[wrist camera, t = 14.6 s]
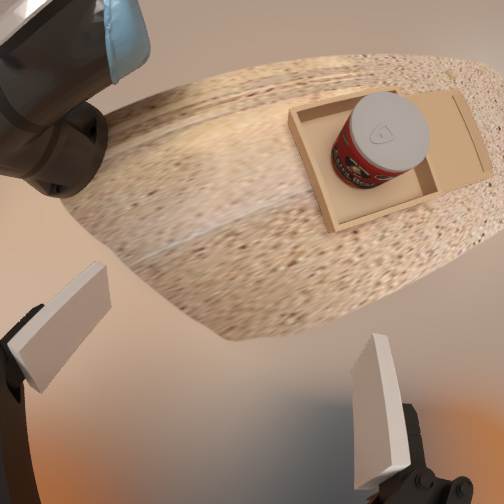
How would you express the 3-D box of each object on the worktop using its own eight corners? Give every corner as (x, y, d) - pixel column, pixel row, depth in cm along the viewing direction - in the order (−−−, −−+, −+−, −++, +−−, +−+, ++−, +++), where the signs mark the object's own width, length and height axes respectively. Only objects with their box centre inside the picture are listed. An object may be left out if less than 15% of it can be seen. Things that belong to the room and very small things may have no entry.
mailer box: (328, 232, 34) (335, 232, 29) (287, 123, 33) (288, 108, 29) (492, 176, 31) (510, 171, 27) (457, 89, 31) (471, 78, 26)
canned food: (316, 160, 33) (332, 127, 22) (355, 117, 32) (382, 75, 21) (364, 204, 33) (400, 190, 22) (401, 159, 32) (443, 132, 21)
